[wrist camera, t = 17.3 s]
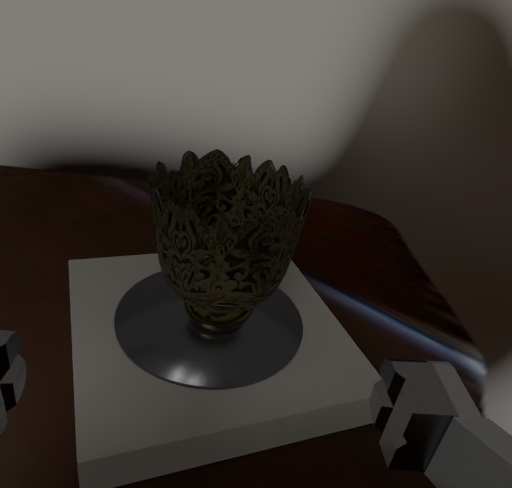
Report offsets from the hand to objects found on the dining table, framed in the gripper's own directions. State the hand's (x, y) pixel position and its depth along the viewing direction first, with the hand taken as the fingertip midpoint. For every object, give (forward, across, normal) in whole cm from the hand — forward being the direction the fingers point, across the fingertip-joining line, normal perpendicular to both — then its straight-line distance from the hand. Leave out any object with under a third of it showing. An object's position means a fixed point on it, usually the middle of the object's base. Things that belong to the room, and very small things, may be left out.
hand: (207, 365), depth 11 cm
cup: (+12, -1, +8) cm, 15 cm away
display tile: (+12, 0, +10) cm, 16 cm away
